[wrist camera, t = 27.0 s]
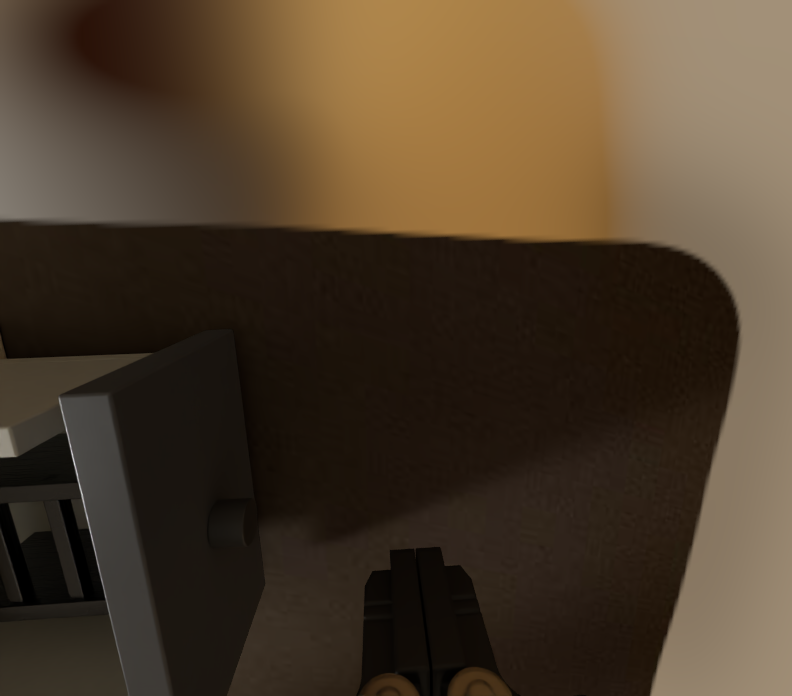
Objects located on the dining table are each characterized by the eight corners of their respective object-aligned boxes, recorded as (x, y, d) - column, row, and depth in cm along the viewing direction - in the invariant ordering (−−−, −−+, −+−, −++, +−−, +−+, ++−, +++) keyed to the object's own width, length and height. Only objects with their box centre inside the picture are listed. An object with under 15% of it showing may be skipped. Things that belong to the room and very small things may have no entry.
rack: (7, 435, 16) (-111, 493, 12) (184, 426, 16) (123, 479, 12) (38, 543, 17) (-61, 627, 13) (203, 532, 18) (153, 612, 14)
